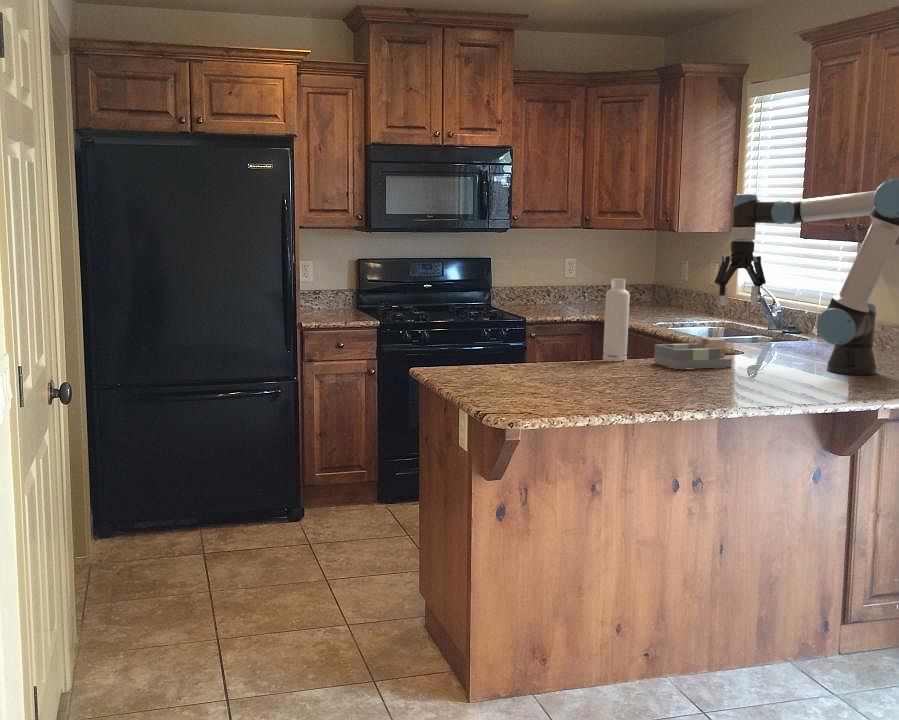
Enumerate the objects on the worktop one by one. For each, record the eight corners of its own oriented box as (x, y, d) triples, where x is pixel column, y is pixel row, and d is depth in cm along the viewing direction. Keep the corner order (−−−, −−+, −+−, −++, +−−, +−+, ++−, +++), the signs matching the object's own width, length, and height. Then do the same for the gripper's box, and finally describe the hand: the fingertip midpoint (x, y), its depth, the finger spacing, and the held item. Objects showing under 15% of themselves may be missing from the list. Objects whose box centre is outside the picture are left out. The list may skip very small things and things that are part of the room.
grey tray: (731, 367, 327) (732, 348, 326) (676, 369, 320) (677, 350, 319) (706, 361, 340) (708, 342, 339) (653, 363, 333) (654, 344, 332)
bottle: (631, 361, 337) (635, 279, 333) (610, 362, 334) (614, 279, 330) (618, 357, 344) (622, 278, 340) (598, 358, 341) (602, 278, 337)
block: (724, 357, 330) (725, 339, 329) (709, 357, 328) (710, 339, 327) (714, 354, 336) (715, 337, 335) (699, 355, 334) (700, 337, 333)
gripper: (765, 240, 337) (761, 303, 340) (706, 239, 329) (702, 304, 332) (779, 241, 330) (775, 305, 333) (719, 240, 322) (715, 306, 325)
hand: (738, 305), depth 333 cm, fingers open, 11 cm apart
